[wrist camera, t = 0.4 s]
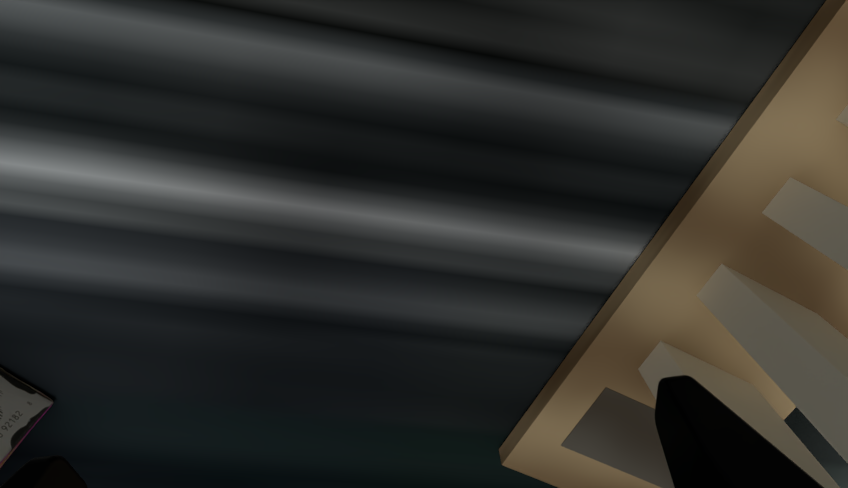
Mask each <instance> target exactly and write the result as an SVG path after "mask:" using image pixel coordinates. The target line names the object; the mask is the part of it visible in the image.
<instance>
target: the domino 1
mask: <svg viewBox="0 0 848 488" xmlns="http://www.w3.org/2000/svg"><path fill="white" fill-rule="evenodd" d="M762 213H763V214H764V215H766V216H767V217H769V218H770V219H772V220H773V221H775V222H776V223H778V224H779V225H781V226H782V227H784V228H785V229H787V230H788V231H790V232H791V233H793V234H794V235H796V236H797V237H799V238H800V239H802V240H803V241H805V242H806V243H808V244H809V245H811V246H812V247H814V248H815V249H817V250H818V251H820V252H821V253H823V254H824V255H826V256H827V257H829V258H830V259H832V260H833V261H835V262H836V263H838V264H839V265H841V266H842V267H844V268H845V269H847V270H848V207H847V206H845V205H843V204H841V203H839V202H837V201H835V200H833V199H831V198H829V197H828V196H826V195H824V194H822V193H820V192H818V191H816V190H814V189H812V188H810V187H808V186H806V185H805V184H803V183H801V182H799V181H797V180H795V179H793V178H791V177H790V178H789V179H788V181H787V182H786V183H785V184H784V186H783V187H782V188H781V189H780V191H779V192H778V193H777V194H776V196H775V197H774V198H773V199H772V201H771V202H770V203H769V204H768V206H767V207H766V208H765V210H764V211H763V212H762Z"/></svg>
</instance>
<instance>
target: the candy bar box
mask: <svg viewBox="0 0 848 488" xmlns="http://www.w3.org/2000/svg"><path fill="white" fill-rule="evenodd" d="M52 405H53V401H52V399H50V398H49V397H47V396H46V395H44V394H43V393H41V392H40V391H38V390H36V389H34V388H33V387H31V386H30V385H28V384H26V383H24V382H23V381H21V380H19V379H18V378H16V377H14V376H13V375H11V374H10V373H8V372H6V371H5V370H4V369H2V368H1V367H0V468H1V467H2V465H3V464H4V463H5V462H6V460H7V459H8V458H9V457H10V455H11V454H12V453H13V452H14V450H15V449H16V448H17V447H18V445H19V444H20V443H21V442H22V441H23V439H24V438H25V437H26V436H27V434H28V433H29V432H30V431H31V429H32V428H33V427H34V426H35V425H36V423H37V422H38V421H39V420H40V419H41V418H42V417H43V415H44V414H45V413H46V412H47V411H48V410H49V408H50V407H51V406H52Z"/></svg>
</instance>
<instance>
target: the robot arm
mask: <svg viewBox="0 0 848 488" xmlns="http://www.w3.org/2000/svg"><path fill="white" fill-rule="evenodd" d="M654 415H655V424H656V428H657V432H658V435H659V439H660V442H661V445H662V448H663V452H664V455H665V458H666V461H667V465H668V468H669V471H670V474H671V478H672V481H673V484H674V487H675V488H824V487H823V486H822V485H820V484H819V483H818V482H817V481H816V480H815V479H813V478H812V477H811V476H810V475H809V474H807V473H806V472H805V471H804V470H803V469H801V468H800V467H799V466H798V465H797V464H795V463H794V462H793V461H792V460H791V459H789V458H788V457H787V456H786V455H785V454H783V453H782V452H781V451H780V450H779V449H778V448H776V447H775V446H774V445H773V444H772V443H770V442H769V441H768V440H767V439H766V438H764V437H763V436H762V435H761V434H760V433H758V432H757V431H756V430H755V429H754V428H752V427H751V426H750V425H749V424H748V423H747V422H745V421H744V420H743V419H742V418H741V417H739V416H738V415H737V414H736V413H735V412H733V411H732V410H731V409H730V408H729V407H727V406H726V405H725V404H724V403H723V402H721V401H720V400H719V399H718V398H717V397H716V396H714V395H713V394H712V393H711V392H710V391H708V390H707V389H706V388H705V387H704V386H702V385H701V384H700V383H699V382H698V381H696V380H695V379H694V378H692V377H691V376H688V375H680V376H672V377H665V378H662V379H661V380H660V381H659V384H658V390H657V398H656V405H655V414H654ZM0 488H87V485H86V483H85V482H84V480H83V479H82V478H81V477H80V476H79V474H78V473H77V472H76V471H75V470H74V469H73V467H72V466H71V465H70V464H69V463H68V461H67V460H66V459H65V458H64V457H62V456H59V455H53V456H45V457H38V458H34V459H32V460H30V461H28V462H27V463H26V464H24V465H23V466H22V467H21V468H20V469H19V470H18V471H17V472H16V473H15V474H13V475H12V476H11V477H10V478H9V479H8V480H7V481H6V482H5V483H4V484H3V485H2V486H0Z"/></svg>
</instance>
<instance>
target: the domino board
mask: <svg viewBox="0 0 848 488" xmlns="http://www.w3.org/2000/svg"><path fill="white" fill-rule="evenodd" d="M847 105H848V0H826V1H825V3H824V4H823V5H822V7H821V8H820V10H819V11H818V12H817V14H816V15H815V16H814V18H813V19H812V21H811V22H810V23H809V25H808V26H807V27H806V29H805V30H804V32H803V33H802V34H801V36H800V37H799V38H798V40H797V41H796V43H795V44H794V45H793V47H792V48H791V49H790V51H789V52H788V53H787V55H786V56H785V58H784V59H783V60H782V62H781V63H780V64H779V66H778V67H777V69H776V70H775V71H774V73H773V74H772V75H771V77H770V78H769V80H768V81H767V82H766V84H765V85H764V86H763V88H762V89H761V91H760V92H759V93H758V95H757V96H756V97H755V99H754V100H753V101H752V103H751V104H750V106H749V107H748V108H747V110H746V111H745V112H744V114H743V115H742V117H741V118H740V119H739V121H738V122H737V123H736V125H735V126H734V128H733V129H732V130H731V132H730V133H729V134H728V136H727V137H726V139H725V140H724V141H723V143H722V144H721V145H720V147H719V148H718V149H717V151H716V152H715V154H714V155H713V156H712V158H711V159H710V160H709V162H708V163H707V165H706V166H705V167H704V169H703V170H702V171H701V173H700V174H699V176H698V177H697V178H696V180H695V181H694V182H693V184H692V185H691V187H690V188H689V189H688V191H687V192H686V193H685V195H684V196H683V197H682V199H681V200H680V202H679V203H678V204H677V206H676V207H675V208H674V210H673V211H672V213H671V214H670V215H669V217H668V218H667V219H666V221H665V222H664V224H663V225H662V226H661V228H660V229H659V230H658V232H657V233H656V234H655V236H654V237H653V239H652V240H651V241H650V243H649V244H648V245H647V247H646V248H645V250H644V251H643V252H642V254H641V255H640V256H639V258H638V259H637V261H636V262H635V263H634V265H633V266H632V267H631V269H630V270H629V272H628V273H627V274H626V276H625V277H624V278H623V280H622V281H621V282H620V284H619V285H618V287H617V288H616V289H615V291H614V292H613V293H612V295H611V296H610V298H609V299H608V300H607V302H606V303H605V304H604V306H603V307H602V309H601V310H600V311H599V313H598V314H597V315H596V317H595V318H594V320H593V321H592V322H591V324H590V325H589V326H588V328H587V329H586V330H585V332H584V333H583V335H582V336H581V337H580V339H579V340H578V341H577V343H576V344H575V346H574V347H573V348H572V350H571V351H570V352H569V354H568V355H567V357H566V358H565V359H564V361H563V362H562V363H561V365H560V366H559V368H558V369H557V370H556V372H555V373H554V374H553V376H552V377H551V378H550V380H549V381H548V383H547V384H546V385H545V387H544V388H543V389H542V391H541V392H540V394H539V395H538V396H537V398H536V399H535V400H534V402H533V403H532V405H531V406H530V407H529V409H528V410H527V411H526V413H525V414H524V416H523V417H522V418H521V420H520V421H519V422H518V424H517V425H516V426H515V428H514V429H513V431H512V432H511V433H510V435H509V436H508V437H507V439H506V440H505V442H504V443H503V444H502V446H501V447H500V448H499V453H500V458H501V463H502V465H503V466H506V467H508V468H511V469H513V470H516V471H518V472H521V473H523V474H526V475H528V476H531V477H534V478H536V479H539V480H541V481H544V482H546V483H549V484H551V485H554V486H556V487H559V488H675V487H674V484H673V481H672V478H671V474H670V471H669V468H668V465H667V461H666V458H665V455H664V452H663V448H662V445H661V442H660V439H659V435H658V432H657V428H656V424H655V415H654V414H655V405H656V399H655V397H654V396H653V394H652V392H651V391H650V389H649V387H648V385H647V384H646V382H645V380H644V379H643V377H642V375H641V373H640V372H639V370H638V369H639V367H640V366H641V365H642V363H643V362H644V361H645V360H646V358H647V357H648V356H649V355H650V353H651V352H652V351H653V350H654V348H655V347H656V346H657V345H658V343H659V342H660V341H662V342H664V343H666V344H669V345H671V346H673V347H675V348H677V349H679V350H681V351H683V352H685V353H687V354H690V355H692V356H694V357H696V358H698V359H700V360H702V361H704V362H706V363H708V364H710V365H713V366H715V367H717V368H719V369H721V370H723V371H725V372H727V373H729V374H731V375H734V376H736V377H738V378H740V379H742V380H744V381H746V382H748V383H750V384H752V385H754V386H755V387H756V389H757V390H758V391H759V392H760V393H761V395H762V396H763V397H764V398H765V399H766V401H767V402H768V403H769V404H770V405H771V406H772V408H773V409H774V410H775V411H776V412H777V414H778V415H779V416H780V417H781V418H782V419H783V420H784V419H785V418H786V417H787V416H788V415H789V414H790V413H791V412H792V411H793V410H794V409H795V408H796V406H795V404H794V403H793V402H792V401H791V400H790V399H789V398H788V397H787V396H786V394H785V393H784V392H783V391H782V390H781V389H780V388H779V387H778V386H777V384H776V383H775V382H774V381H773V380H772V379H771V378H770V377H769V376H768V374H767V373H766V372H765V371H764V370H763V369H762V368H761V367H760V366H759V365H758V363H757V362H756V361H755V360H754V359H753V358H752V357H751V356H750V355H749V353H748V352H747V351H746V350H745V349H744V348H743V347H742V346H741V345H740V343H739V342H738V341H737V340H736V339H735V338H734V337H733V336H732V335H731V333H730V332H729V331H728V330H727V329H726V328H725V327H724V326H723V325H722V323H721V322H720V321H719V320H718V319H717V318H716V317H715V316H714V315H713V314H712V312H711V311H710V310H709V309H708V308H707V307H706V306H705V305H704V304H703V302H702V301H701V300H700V299H699V298H698V297H697V296H696V295H697V294H698V293H699V292H700V290H701V289H702V288H703V286H704V285H705V284H706V283H707V281H708V280H709V279H710V278H711V276H712V275H713V274H714V273H715V271H716V270H717V269H718V268H719V266H720V265H721V264H723V265H725V266H727V267H729V268H731V269H733V270H735V271H736V272H738V273H740V274H742V275H744V276H746V277H748V278H750V279H752V280H754V281H756V282H758V283H759V284H761V285H763V286H765V287H767V288H769V289H771V290H773V291H775V292H777V293H779V294H781V295H782V296H784V297H786V298H788V299H790V300H792V301H794V302H796V303H798V304H800V305H802V306H803V307H805V308H807V309H809V310H811V311H813V312H815V313H817V314H818V315H819V316H821V317H822V318H823V319H824V320H825V321H827V322H828V323H829V324H830V325H832V326H833V327H834V328H835V329H836V330H838V331H839V332H840V333H841V334H842V335H844V336H845V337H846V338H847V339H848V270H847V269H845V268H844V267H842V266H841V265H839V264H838V263H836V262H835V261H833V260H832V259H830V258H829V257H827V256H826V255H824V254H823V253H821V252H820V251H818V250H817V249H815V248H814V247H812V246H811V245H809V244H808V243H806V242H805V241H803V240H802V239H800V238H799V237H797V236H796V235H794V234H793V233H791V232H790V231H788V230H787V229H785V228H784V227H782V226H781V225H779V224H778V223H776V222H775V221H773V220H772V219H770V218H769V217H767V216H766V215H764V214H763V213H762V212H763V211H764V210H765V208H766V207H767V206H768V204H769V203H770V202H771V201H772V199H773V198H774V197H775V196H776V194H777V193H778V192H779V191H780V189H781V188H782V187H783V186H784V184H785V183H786V182H787V181H788V179H789V178H790V177H791V178H793V179H795V180H797V181H799V182H801V183H803V184H805V185H806V186H808V187H810V188H812V189H814V190H816V191H818V192H820V193H822V194H824V195H826V196H828V197H829V198H831V199H833V200H835V201H837V202H839V203H841V204H843V205H845V206H847V207H848V127H847V126H845V125H844V124H842V123H840V122H839V121H837V120H836V119H837V117H838V116H839V115H840V114H841V112H842V111H843V110H844V109H845V107H846V106H847Z"/></svg>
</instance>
